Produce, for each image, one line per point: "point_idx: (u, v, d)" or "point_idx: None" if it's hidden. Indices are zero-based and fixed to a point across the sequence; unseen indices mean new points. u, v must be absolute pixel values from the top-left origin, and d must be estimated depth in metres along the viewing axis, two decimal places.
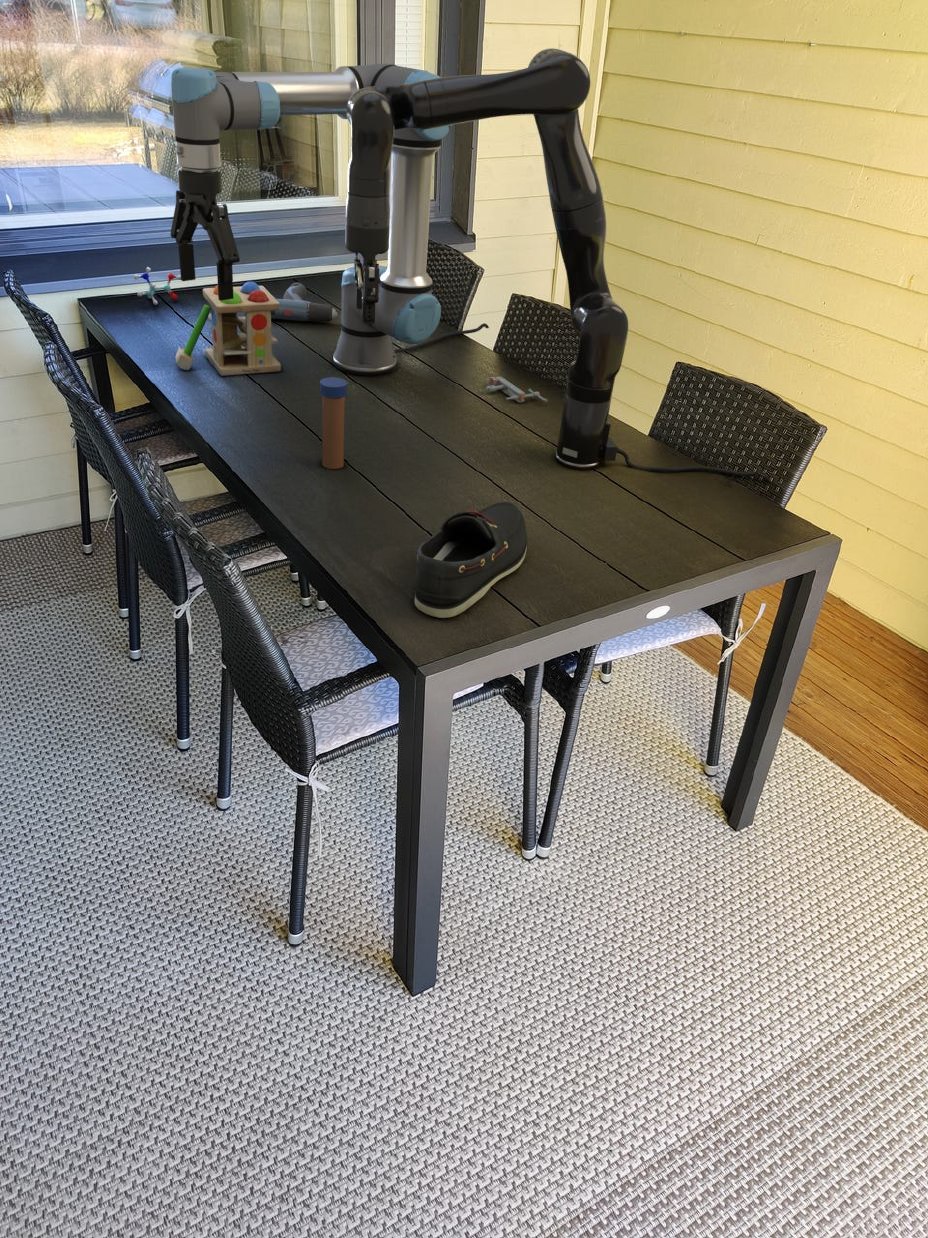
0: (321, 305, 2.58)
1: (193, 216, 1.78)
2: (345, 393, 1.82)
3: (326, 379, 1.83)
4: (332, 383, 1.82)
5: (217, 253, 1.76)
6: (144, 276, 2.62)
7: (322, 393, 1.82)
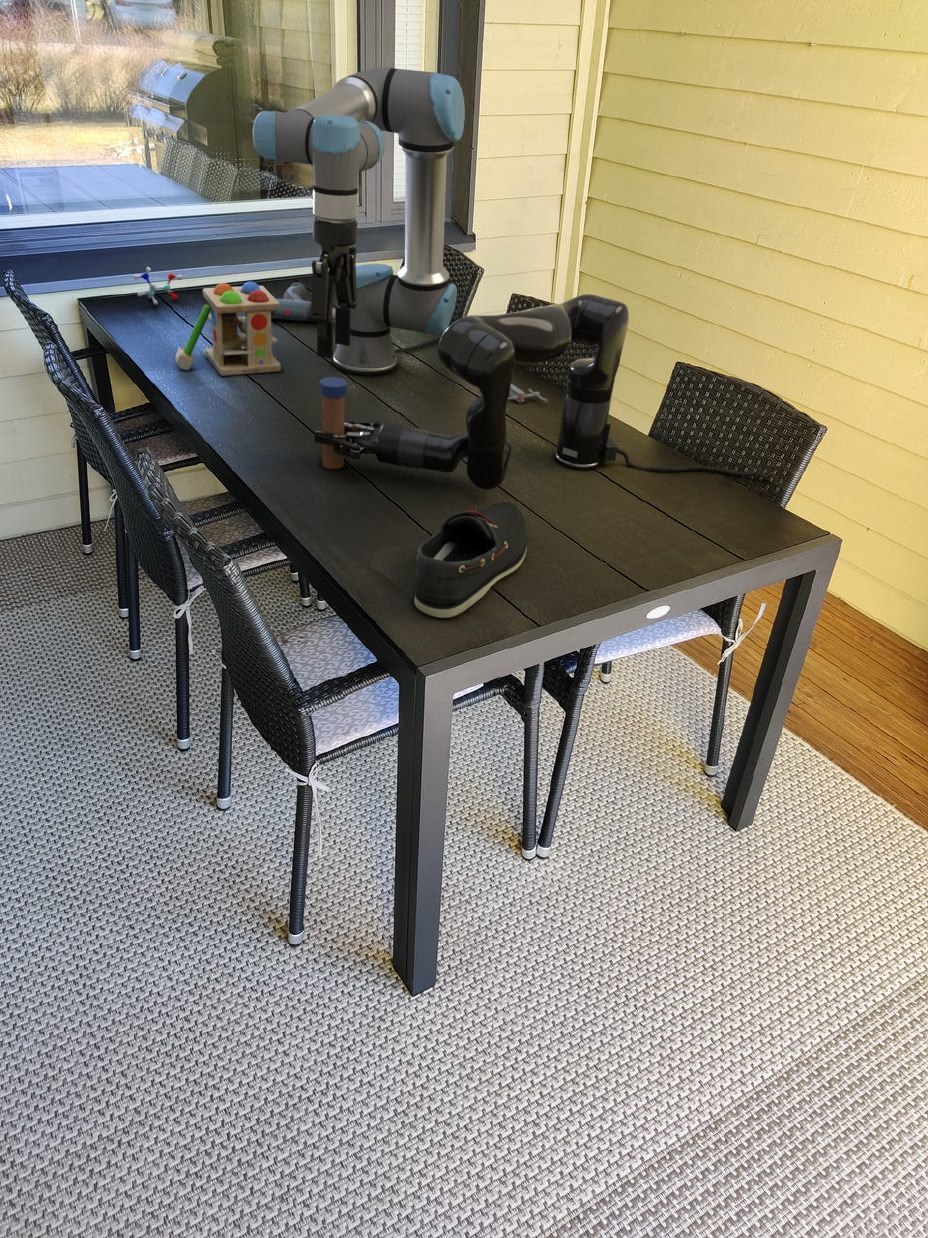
0: None
1: None
2: (344, 393, 1.82)
3: (326, 379, 1.83)
4: (332, 383, 1.82)
5: None
6: (144, 276, 2.62)
7: (322, 393, 1.82)
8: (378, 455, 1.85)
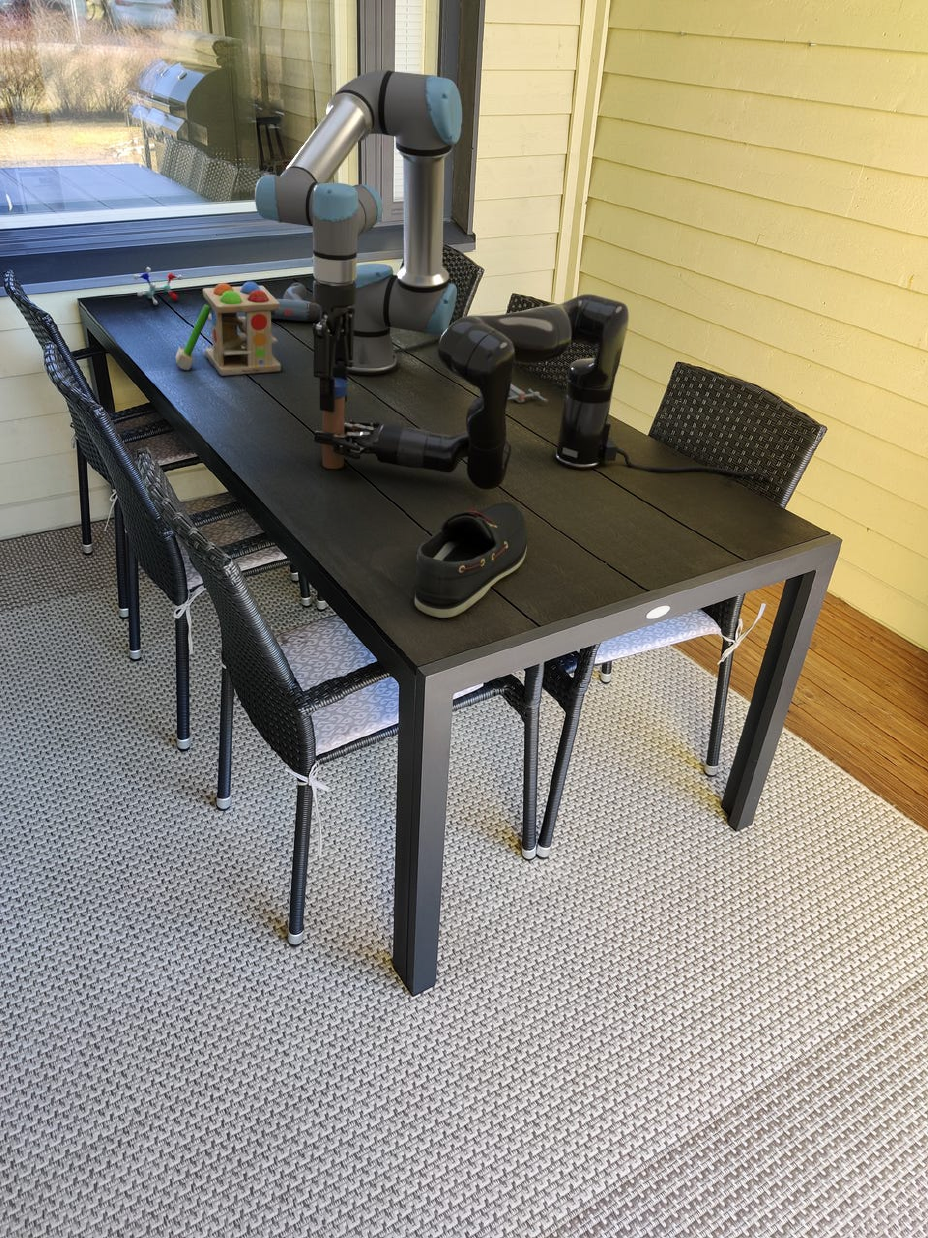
0: None
1: None
2: (344, 393, 1.82)
3: None
4: None
5: None
6: (144, 276, 2.62)
7: None
8: (378, 455, 1.85)
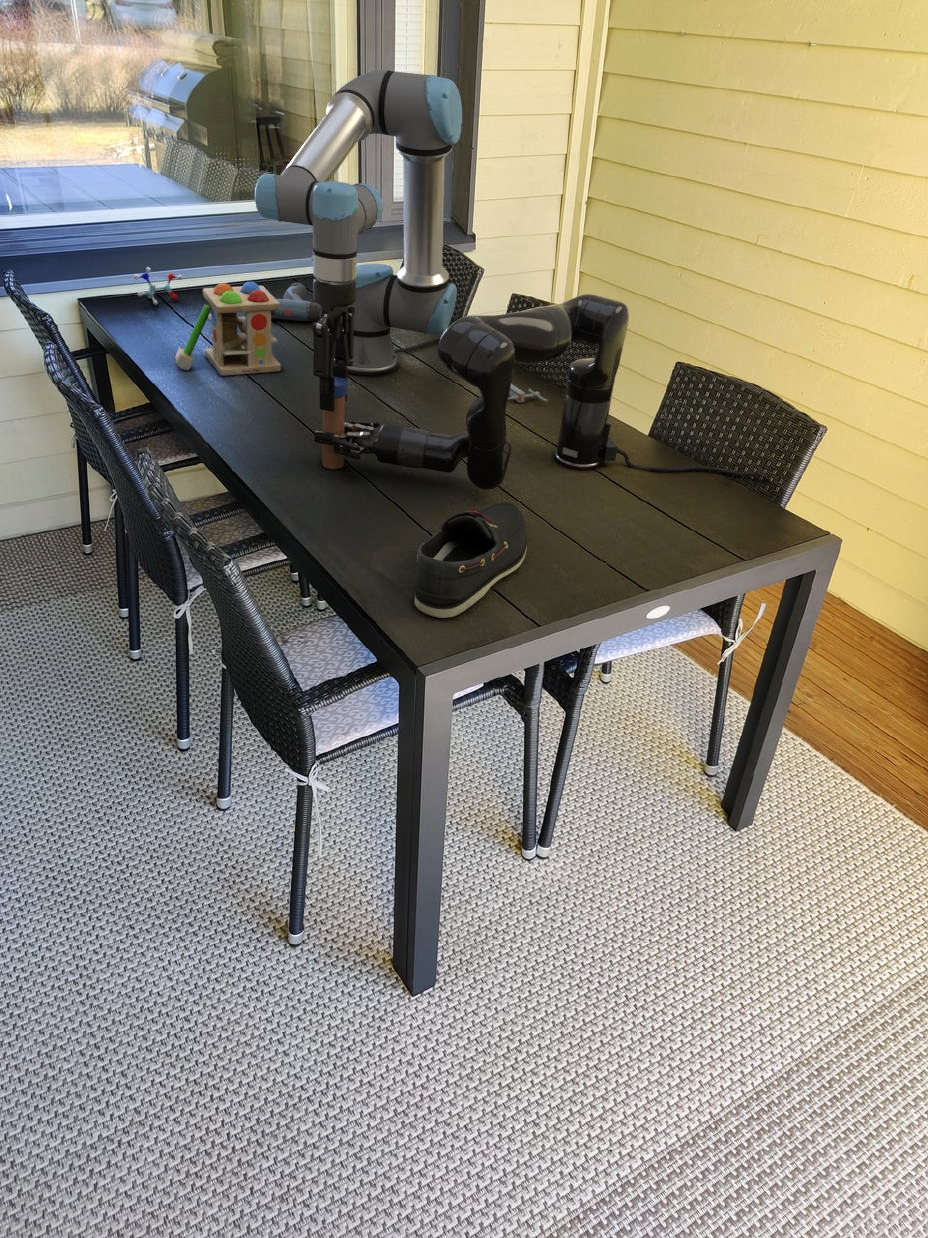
0: None
1: None
2: None
3: None
4: (338, 381, 1.82)
5: None
6: (144, 276, 2.62)
7: (339, 394, 1.82)
8: (378, 456, 1.85)
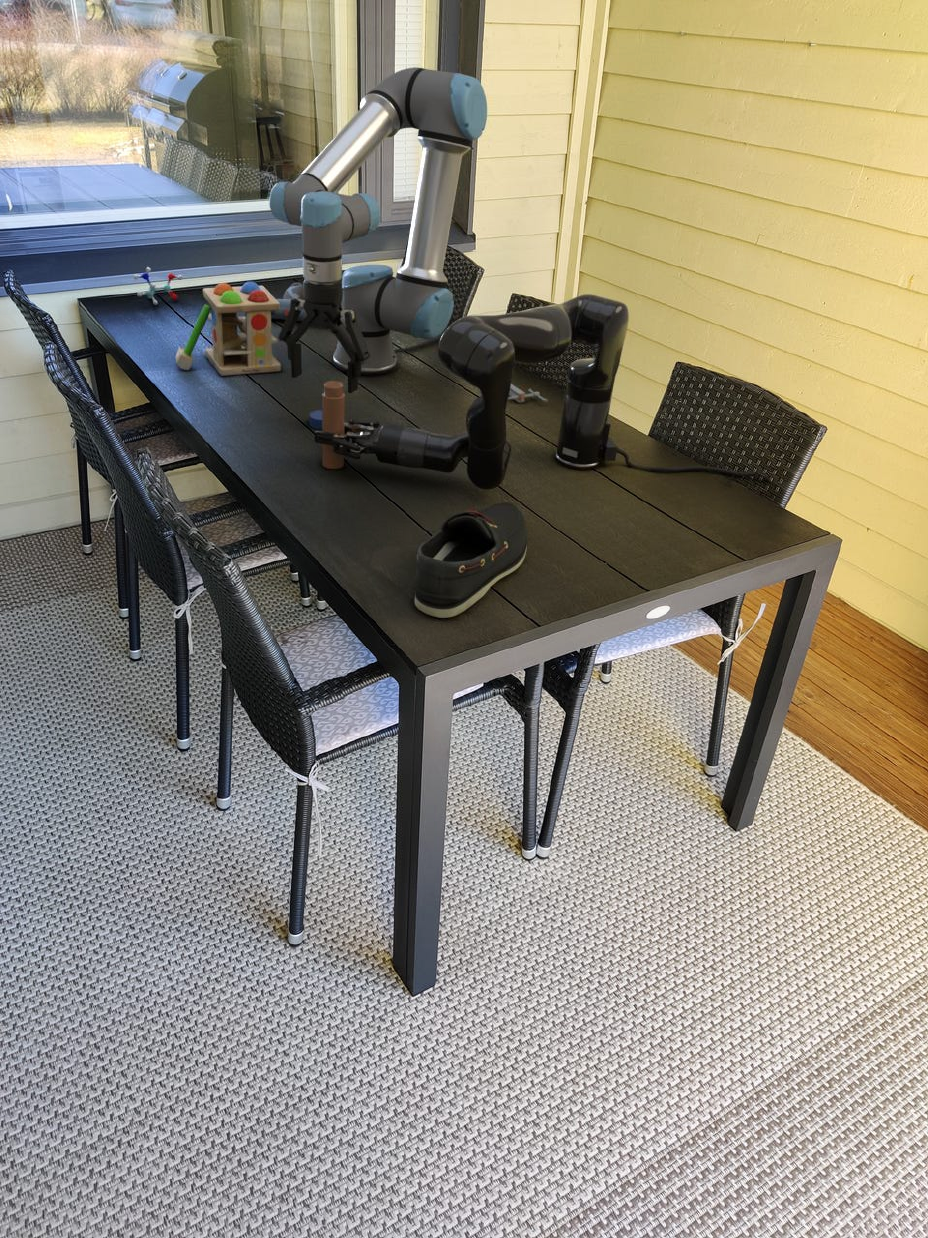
0: None
1: (315, 321, 1.95)
2: None
3: None
4: None
5: (349, 353, 1.95)
6: (144, 276, 2.62)
7: None
8: (378, 455, 1.85)
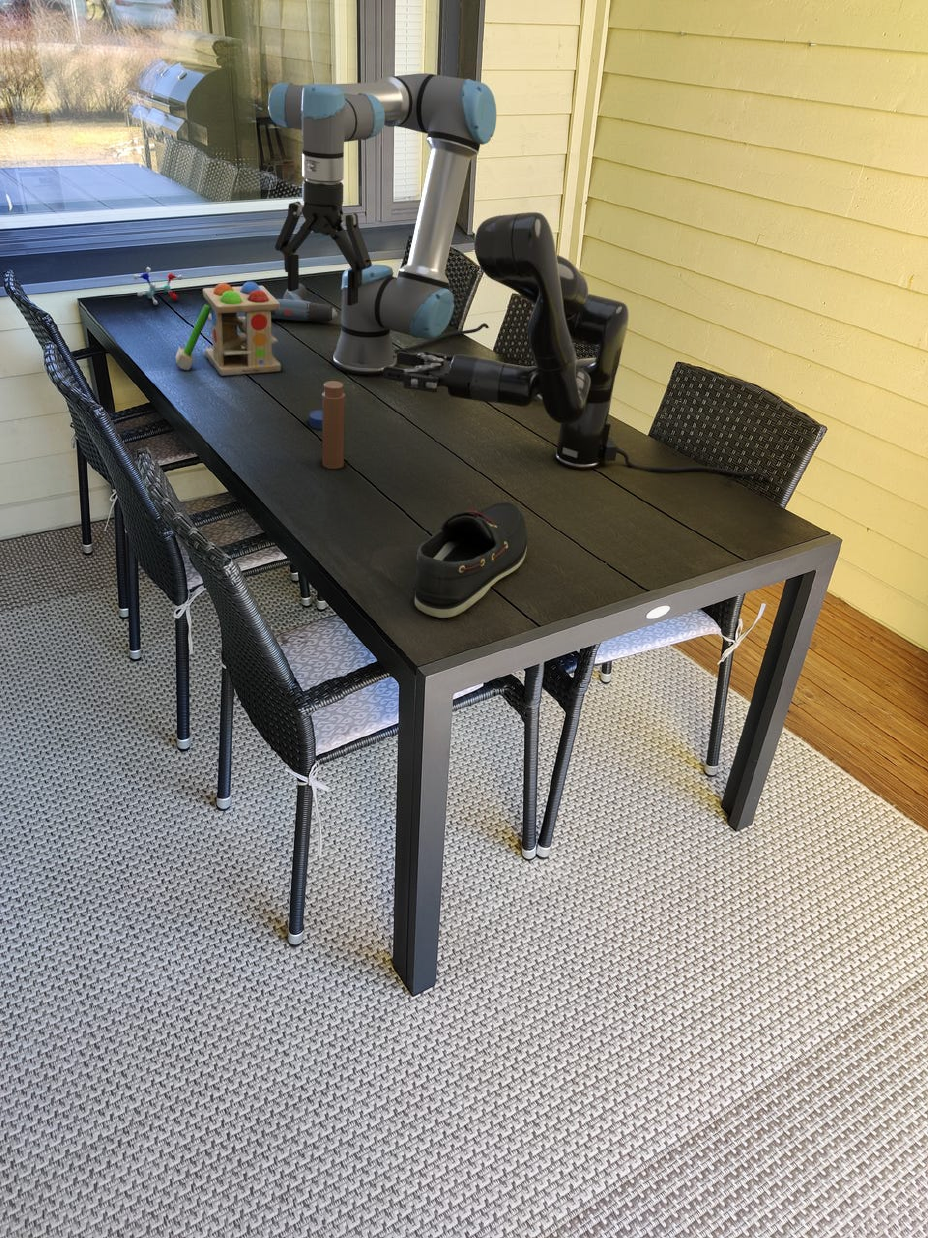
0: (321, 305, 2.58)
1: (314, 227, 1.84)
2: None
3: None
4: None
5: (349, 260, 1.84)
6: (144, 276, 2.62)
7: None
8: (450, 388, 1.74)
